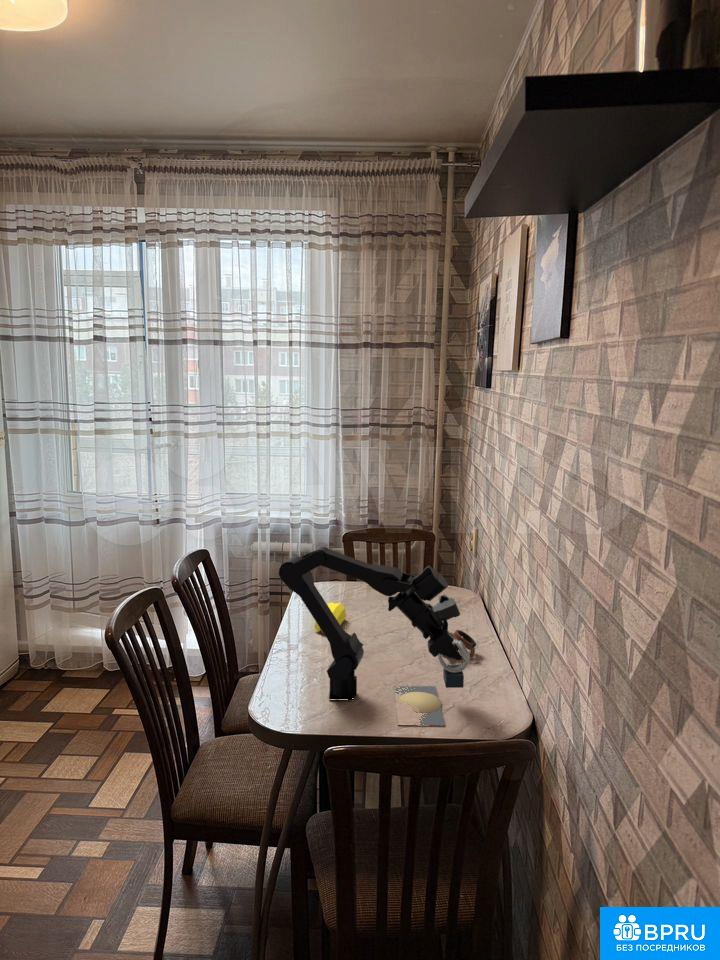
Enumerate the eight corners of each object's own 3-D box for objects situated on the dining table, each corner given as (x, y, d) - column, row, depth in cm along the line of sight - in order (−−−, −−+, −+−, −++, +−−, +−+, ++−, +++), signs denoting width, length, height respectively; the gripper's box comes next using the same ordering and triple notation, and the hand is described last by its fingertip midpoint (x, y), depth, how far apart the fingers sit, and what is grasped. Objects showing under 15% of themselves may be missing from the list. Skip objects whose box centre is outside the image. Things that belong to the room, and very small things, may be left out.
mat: (398, 725, 153) (398, 724, 153) (393, 686, 173) (393, 685, 173) (447, 726, 153) (447, 724, 153) (437, 687, 173) (437, 685, 173)
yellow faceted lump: (348, 618, 224) (326, 616, 226) (348, 599, 223) (326, 597, 225) (335, 637, 207) (312, 635, 208) (335, 617, 206) (312, 615, 207)
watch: (471, 687, 161) (472, 645, 159) (438, 687, 161) (439, 645, 159) (468, 676, 166) (468, 635, 164) (436, 676, 166) (436, 636, 164)
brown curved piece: (444, 647, 201) (459, 626, 199) (468, 668, 196) (483, 646, 195) (429, 651, 190) (444, 628, 189) (454, 672, 186) (470, 649, 184)
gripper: (446, 602, 151) (491, 648, 152) (436, 577, 169) (476, 620, 171) (410, 633, 152) (455, 679, 154) (404, 606, 170) (444, 647, 172)
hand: (459, 654), depth 162 cm, fingers closed on watch, 5 cm apart
